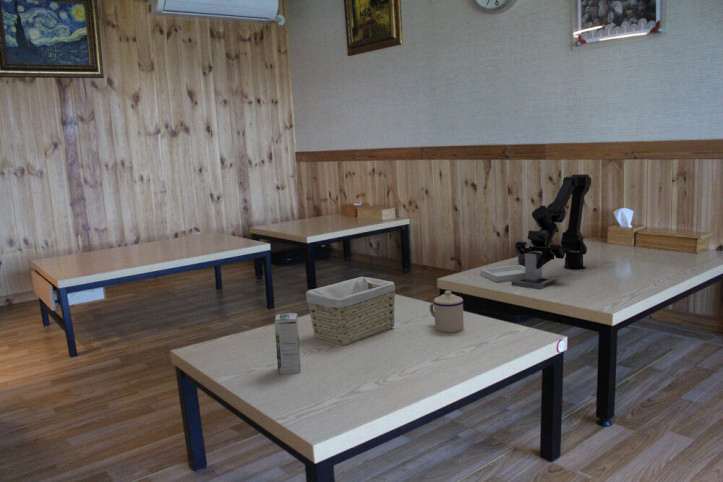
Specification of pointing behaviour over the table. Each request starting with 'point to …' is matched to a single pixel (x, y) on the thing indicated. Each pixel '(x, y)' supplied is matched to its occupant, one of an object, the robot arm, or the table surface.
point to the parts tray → (504, 273)
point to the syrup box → (287, 343)
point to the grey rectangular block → (533, 267)
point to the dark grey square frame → (541, 285)
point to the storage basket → (351, 309)
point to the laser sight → (521, 258)
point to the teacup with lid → (448, 313)
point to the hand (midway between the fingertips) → (531, 267)
